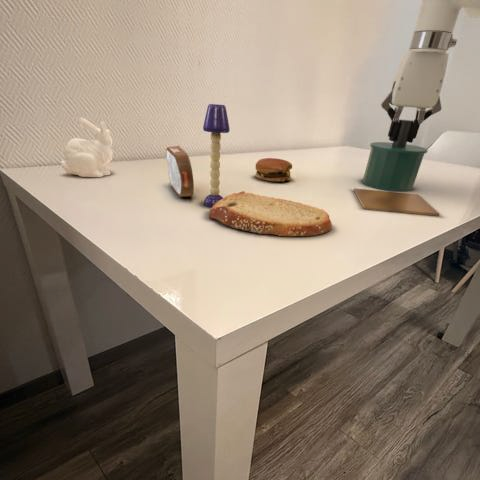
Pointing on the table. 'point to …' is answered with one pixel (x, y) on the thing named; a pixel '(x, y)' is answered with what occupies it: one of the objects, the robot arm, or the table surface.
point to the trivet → (394, 202)
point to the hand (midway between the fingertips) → (400, 140)
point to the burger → (273, 169)
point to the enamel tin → (392, 170)
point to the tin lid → (400, 141)
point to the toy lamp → (215, 147)
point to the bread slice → (270, 215)
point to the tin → (180, 171)
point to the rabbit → (89, 152)
